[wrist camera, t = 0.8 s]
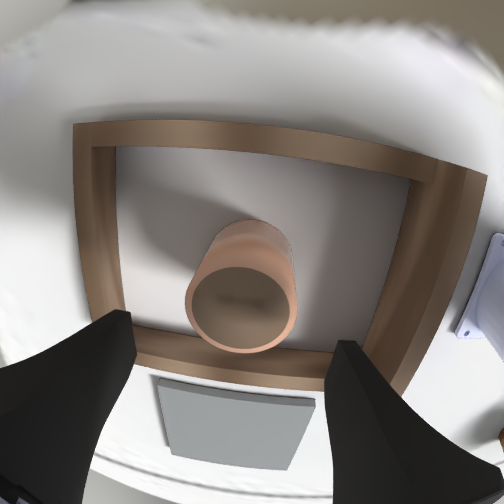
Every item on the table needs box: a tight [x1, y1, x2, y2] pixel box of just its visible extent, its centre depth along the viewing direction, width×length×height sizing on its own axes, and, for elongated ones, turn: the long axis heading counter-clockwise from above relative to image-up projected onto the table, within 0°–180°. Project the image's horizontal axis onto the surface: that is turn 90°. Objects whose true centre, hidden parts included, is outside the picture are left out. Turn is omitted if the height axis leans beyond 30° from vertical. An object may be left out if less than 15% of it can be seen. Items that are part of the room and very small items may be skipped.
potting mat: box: [157, 378, 316, 470], centre depth 23 cm, size 12×12×1 cm
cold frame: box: [73, 120, 488, 397], centre depth 14 cm, size 18×14×5 cm
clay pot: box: [185, 220, 297, 353], centre depth 14 cm, size 5×5×5 cm
